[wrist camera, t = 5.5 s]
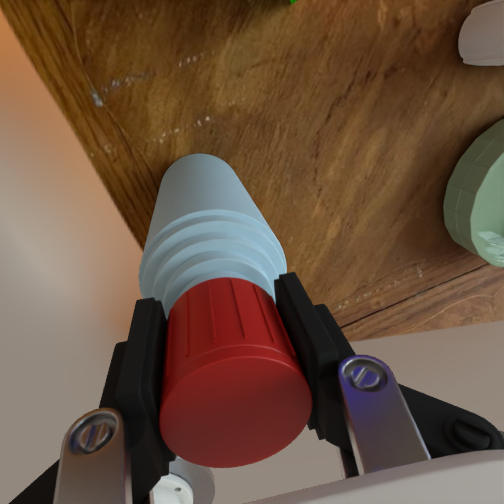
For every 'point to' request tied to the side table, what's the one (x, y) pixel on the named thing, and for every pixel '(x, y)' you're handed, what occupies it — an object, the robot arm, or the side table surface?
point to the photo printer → (483, 35)
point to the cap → (230, 377)
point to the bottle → (206, 233)
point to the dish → (479, 197)
